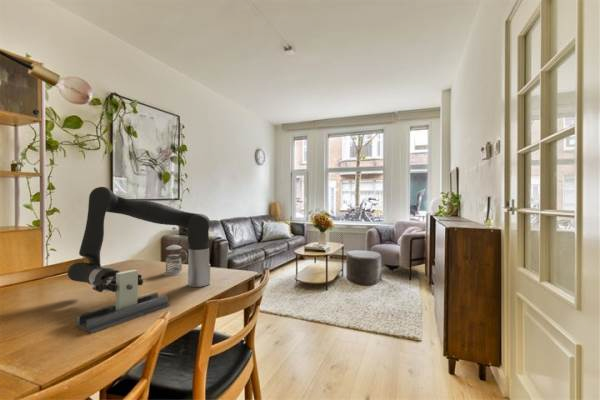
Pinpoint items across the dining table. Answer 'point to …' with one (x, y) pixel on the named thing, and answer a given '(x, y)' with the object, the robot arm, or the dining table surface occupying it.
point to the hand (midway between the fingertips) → (129, 285)
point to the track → (120, 313)
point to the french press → (172, 258)
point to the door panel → (126, 289)
